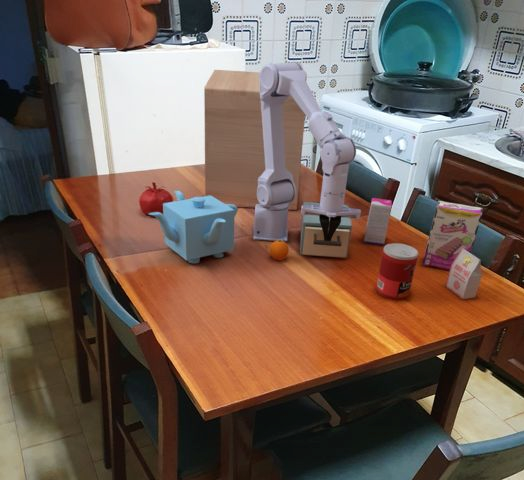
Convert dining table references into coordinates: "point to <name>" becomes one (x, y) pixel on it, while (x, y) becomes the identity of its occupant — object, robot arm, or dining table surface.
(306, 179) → the dining table surface
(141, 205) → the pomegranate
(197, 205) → the teakettle
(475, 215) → the candy bar box
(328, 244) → the drawer
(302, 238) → the cabinet
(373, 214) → the supplement box
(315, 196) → the dining table surface
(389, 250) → the canned food
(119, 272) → the dining table surface
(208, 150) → the storage cube
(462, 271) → the white box
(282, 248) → the orange
